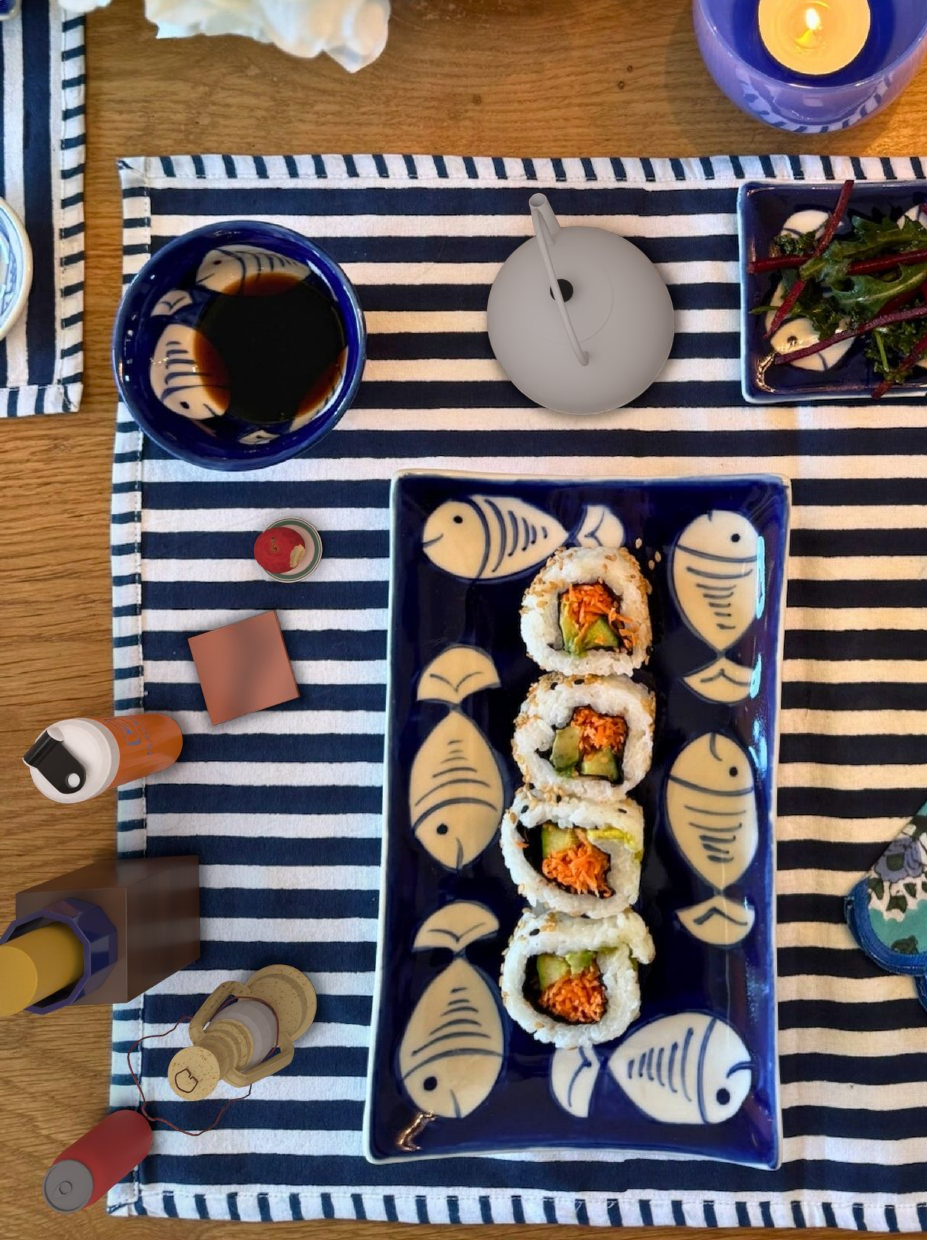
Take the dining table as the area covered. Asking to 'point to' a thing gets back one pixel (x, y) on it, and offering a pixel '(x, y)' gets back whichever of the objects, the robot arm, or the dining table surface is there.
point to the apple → (288, 549)
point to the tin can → (38, 966)
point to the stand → (132, 918)
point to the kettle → (579, 317)
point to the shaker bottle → (101, 754)
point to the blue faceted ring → (92, 934)
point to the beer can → (97, 1162)
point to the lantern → (241, 1034)
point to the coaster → (243, 667)
